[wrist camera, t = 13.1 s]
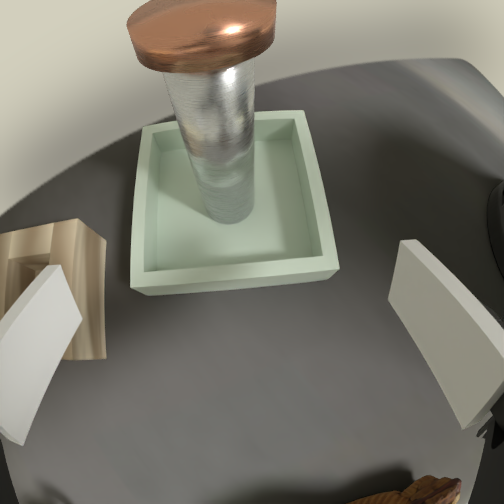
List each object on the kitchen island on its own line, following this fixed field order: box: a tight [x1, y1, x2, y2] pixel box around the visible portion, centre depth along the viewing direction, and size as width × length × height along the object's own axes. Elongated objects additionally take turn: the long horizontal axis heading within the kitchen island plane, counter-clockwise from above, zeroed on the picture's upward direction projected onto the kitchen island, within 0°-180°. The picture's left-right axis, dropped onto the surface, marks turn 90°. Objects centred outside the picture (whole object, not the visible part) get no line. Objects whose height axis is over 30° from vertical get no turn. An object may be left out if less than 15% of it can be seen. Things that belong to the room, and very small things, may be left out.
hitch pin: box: [127, 0, 277, 225], centre depth 15 cm, size 6×6×17 cm
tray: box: [130, 110, 340, 296], centre depth 22 cm, size 14×14×4 cm
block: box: [0, 218, 107, 360], centre depth 19 cm, size 10×10×5 cm
